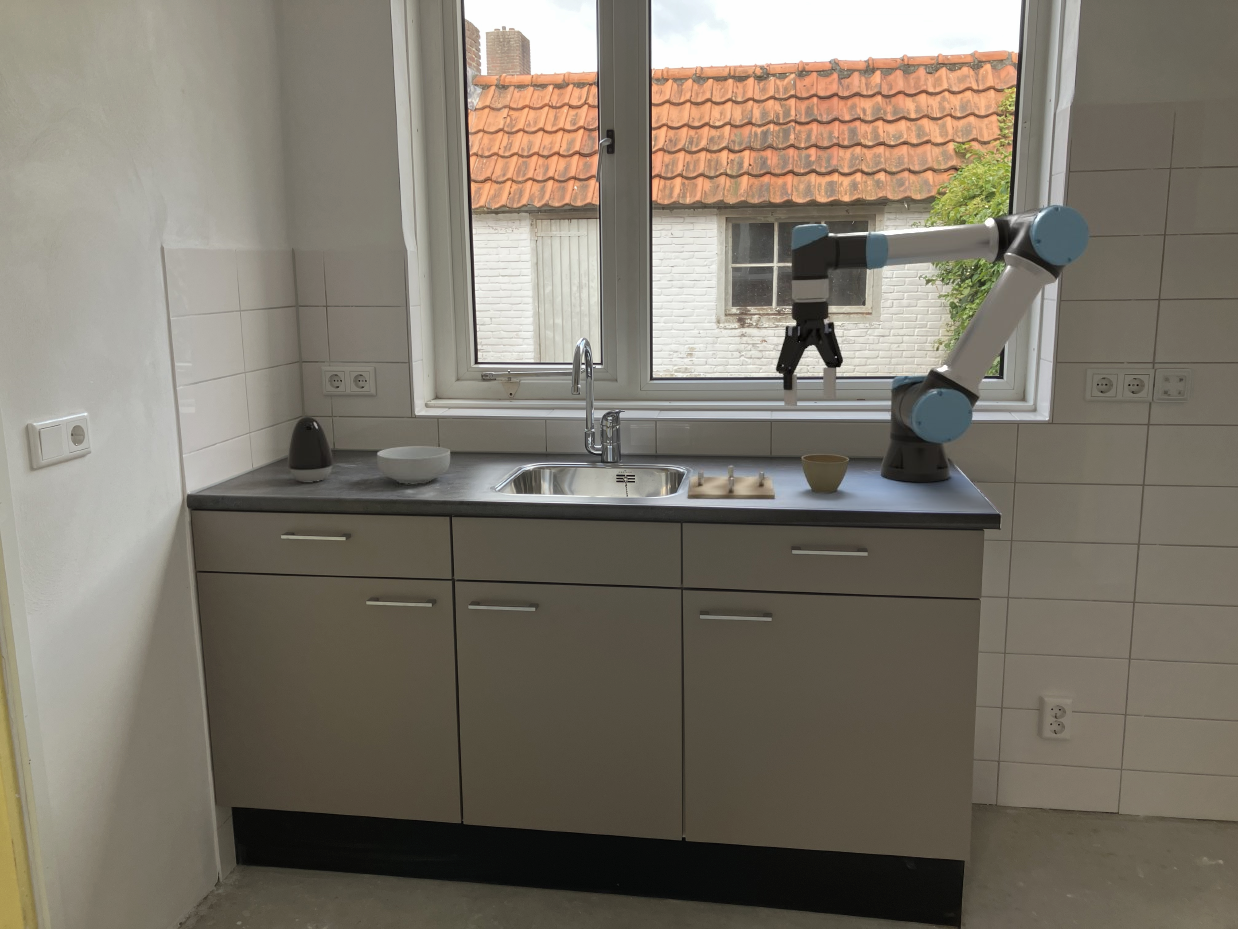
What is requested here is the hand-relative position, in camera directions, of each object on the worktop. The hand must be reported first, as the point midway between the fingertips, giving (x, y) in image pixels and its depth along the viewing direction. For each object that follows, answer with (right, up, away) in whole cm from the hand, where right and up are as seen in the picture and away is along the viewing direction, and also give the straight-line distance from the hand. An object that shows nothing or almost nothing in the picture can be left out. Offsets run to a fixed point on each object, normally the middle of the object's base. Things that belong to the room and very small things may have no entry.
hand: (810, 401), depth 214 cm
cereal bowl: (-88, -17, +20) cm, 92 cm away
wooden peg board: (-16, -19, +6) cm, 25 cm away
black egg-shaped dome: (-113, -17, +23) cm, 117 cm away
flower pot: (+4, -19, +3) cm, 20 cm away
